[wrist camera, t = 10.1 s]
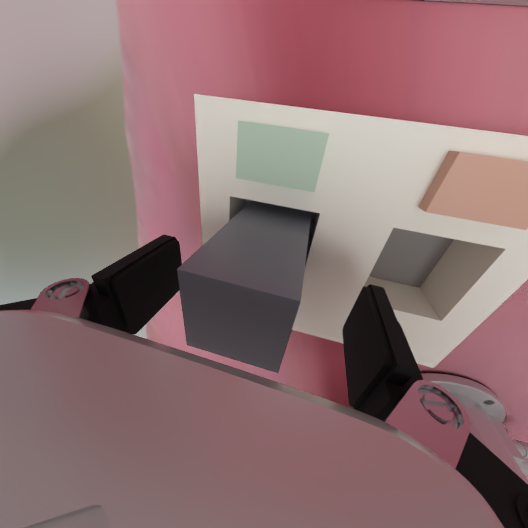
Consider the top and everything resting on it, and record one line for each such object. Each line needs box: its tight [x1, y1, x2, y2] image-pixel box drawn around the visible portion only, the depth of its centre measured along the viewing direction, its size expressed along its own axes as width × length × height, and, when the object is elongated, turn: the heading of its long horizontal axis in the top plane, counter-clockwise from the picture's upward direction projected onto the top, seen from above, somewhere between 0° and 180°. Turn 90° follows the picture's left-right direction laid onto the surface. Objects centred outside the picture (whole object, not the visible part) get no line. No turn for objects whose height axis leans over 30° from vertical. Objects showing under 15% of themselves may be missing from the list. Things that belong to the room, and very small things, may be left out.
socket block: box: [194, 94, 528, 368], centre depth 14 cm, size 18×14×6 cm
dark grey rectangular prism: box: [177, 200, 312, 373], centre depth 11 cm, size 4×4×10 cm
